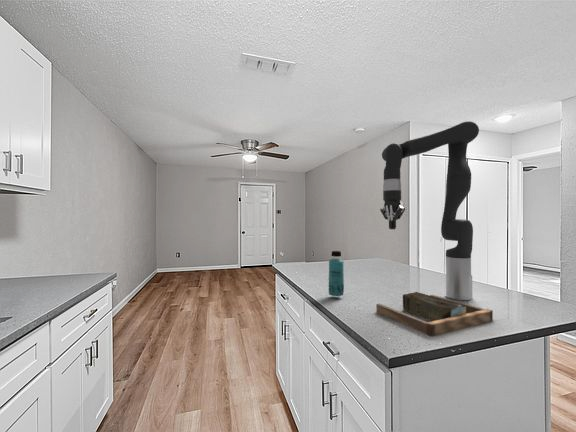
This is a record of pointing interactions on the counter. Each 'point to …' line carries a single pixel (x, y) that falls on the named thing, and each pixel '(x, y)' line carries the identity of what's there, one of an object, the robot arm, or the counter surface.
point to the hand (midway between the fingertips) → (392, 229)
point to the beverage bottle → (336, 275)
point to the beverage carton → (431, 306)
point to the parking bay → (439, 326)
